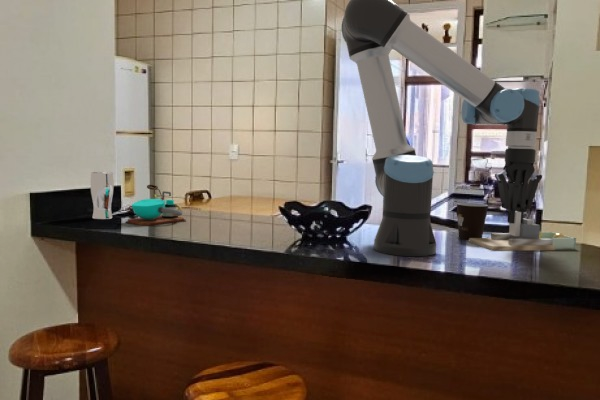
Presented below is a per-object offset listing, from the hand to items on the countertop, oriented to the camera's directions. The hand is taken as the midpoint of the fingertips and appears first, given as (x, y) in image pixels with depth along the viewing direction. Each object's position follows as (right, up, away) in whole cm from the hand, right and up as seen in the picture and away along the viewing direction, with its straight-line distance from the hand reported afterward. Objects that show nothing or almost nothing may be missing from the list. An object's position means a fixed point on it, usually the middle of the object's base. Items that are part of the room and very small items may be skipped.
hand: (514, 235), depth 143 cm
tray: (+11, -3, +3) cm, 12 cm away
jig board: (-1, -3, 0) cm, 3 cm away
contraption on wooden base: (-103, +2, +23) cm, 105 cm away
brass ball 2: (+13, -1, +1) cm, 13 cm away
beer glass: (-122, +3, +28) cm, 126 cm away
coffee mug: (-8, -2, +12) cm, 15 cm away
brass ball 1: (+7, 0, +3) cm, 8 cm away
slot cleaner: (+3, -2, +1) cm, 4 cm away
